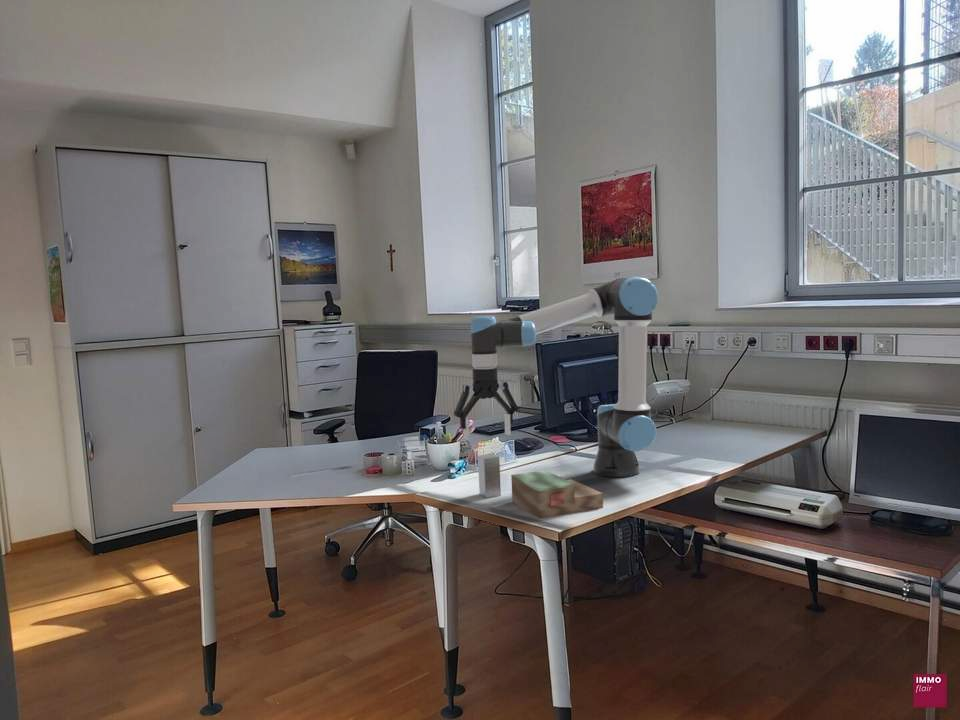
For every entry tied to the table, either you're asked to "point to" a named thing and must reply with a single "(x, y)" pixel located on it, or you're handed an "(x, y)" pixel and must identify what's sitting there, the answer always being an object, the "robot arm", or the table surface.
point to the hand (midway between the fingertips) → (487, 437)
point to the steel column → (489, 475)
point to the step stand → (552, 494)
